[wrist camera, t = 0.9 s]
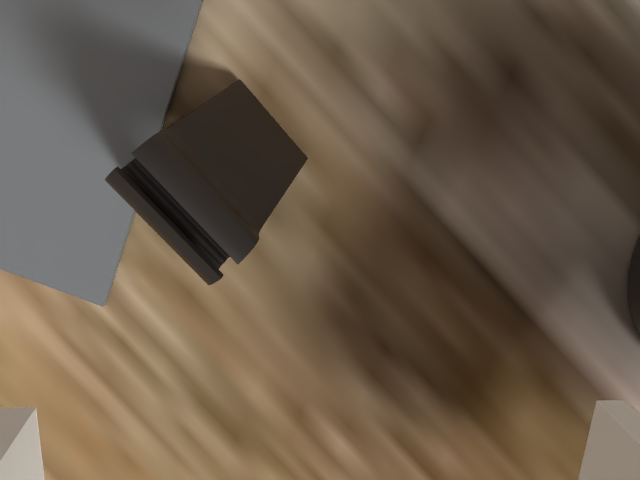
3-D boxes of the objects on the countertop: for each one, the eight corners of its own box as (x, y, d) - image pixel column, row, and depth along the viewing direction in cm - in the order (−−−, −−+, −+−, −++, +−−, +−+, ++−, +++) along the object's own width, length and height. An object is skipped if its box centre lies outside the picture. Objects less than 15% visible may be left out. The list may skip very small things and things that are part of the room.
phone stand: (241, 78, 32) (209, 81, 20) (308, 158, 33) (314, 202, 22) (129, 178, 33) (41, 233, 22) (199, 250, 35) (150, 338, 23)
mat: (216, -43, 31) (215, -45, 30) (105, 304, 36) (103, 306, 35) (7, -131, 30) (3, -134, 30) (-78, 237, 35) (-83, 238, 34)
